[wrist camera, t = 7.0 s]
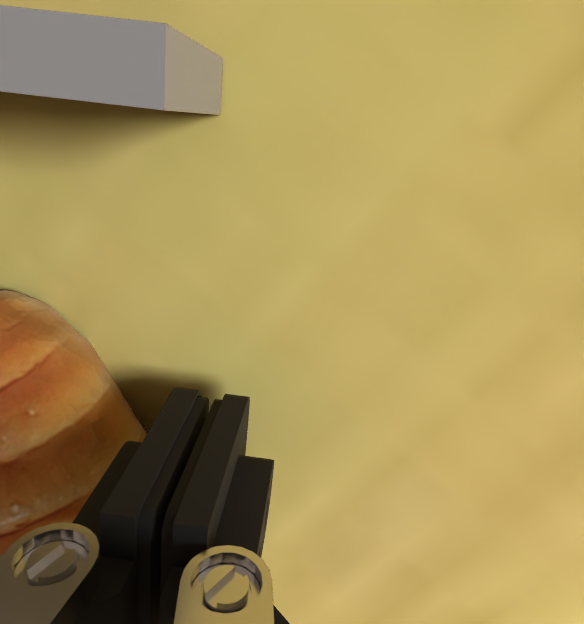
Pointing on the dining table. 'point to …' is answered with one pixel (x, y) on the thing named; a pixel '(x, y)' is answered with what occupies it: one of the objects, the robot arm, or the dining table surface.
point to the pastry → (52, 418)
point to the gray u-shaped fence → (107, 61)
